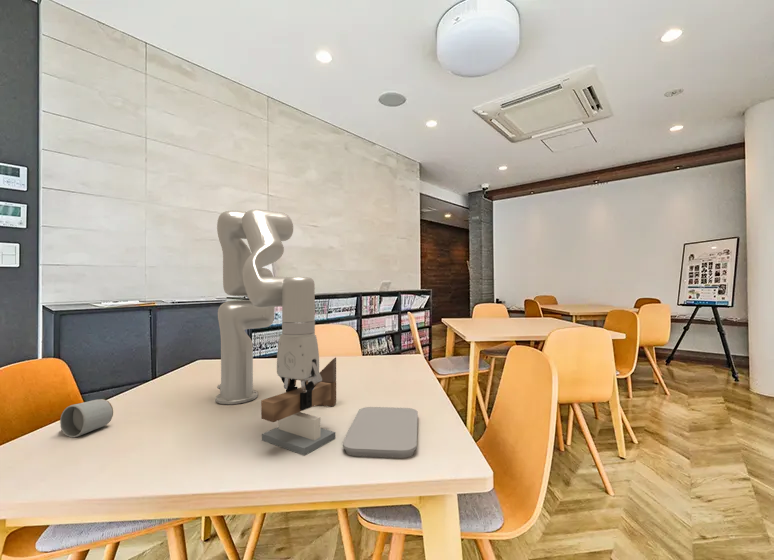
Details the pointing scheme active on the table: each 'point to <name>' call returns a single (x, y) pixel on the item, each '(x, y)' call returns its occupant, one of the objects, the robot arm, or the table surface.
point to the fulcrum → (299, 433)
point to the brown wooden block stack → (329, 381)
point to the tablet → (382, 432)
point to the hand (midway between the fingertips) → (298, 405)
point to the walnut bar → (292, 402)
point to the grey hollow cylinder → (85, 417)
